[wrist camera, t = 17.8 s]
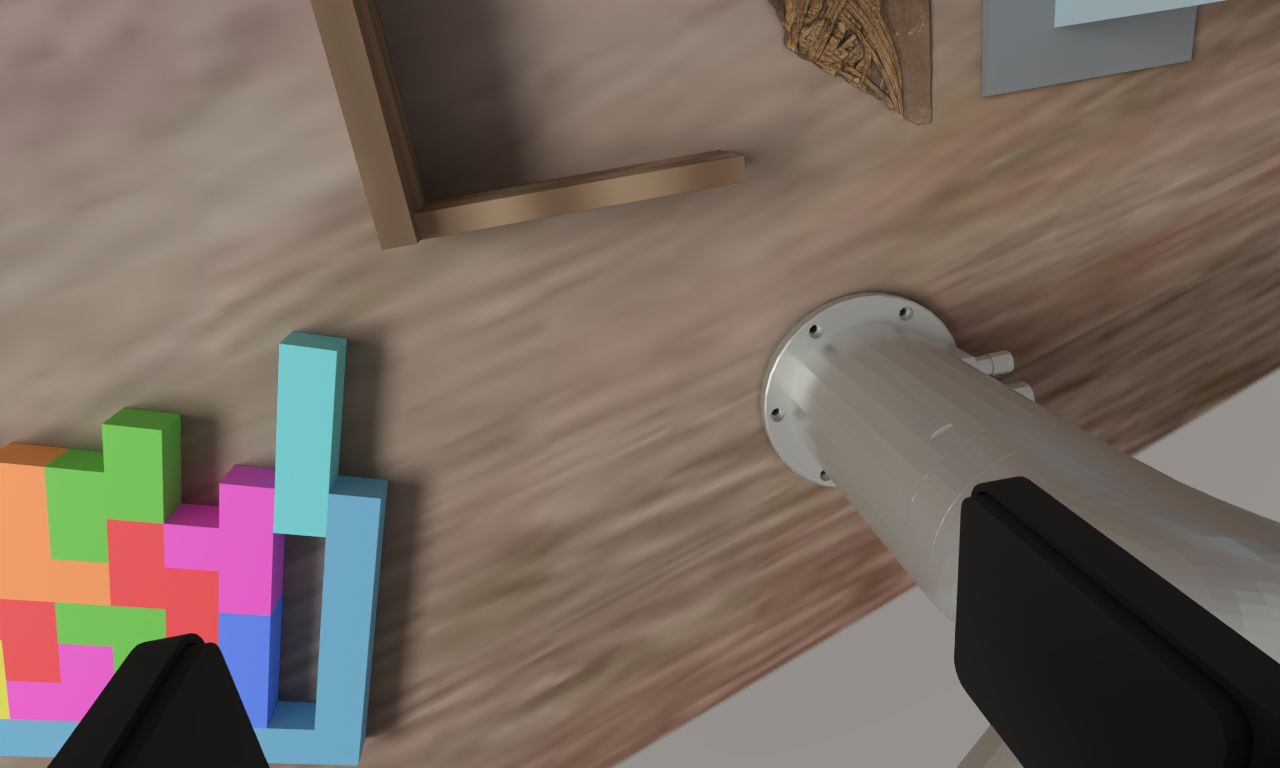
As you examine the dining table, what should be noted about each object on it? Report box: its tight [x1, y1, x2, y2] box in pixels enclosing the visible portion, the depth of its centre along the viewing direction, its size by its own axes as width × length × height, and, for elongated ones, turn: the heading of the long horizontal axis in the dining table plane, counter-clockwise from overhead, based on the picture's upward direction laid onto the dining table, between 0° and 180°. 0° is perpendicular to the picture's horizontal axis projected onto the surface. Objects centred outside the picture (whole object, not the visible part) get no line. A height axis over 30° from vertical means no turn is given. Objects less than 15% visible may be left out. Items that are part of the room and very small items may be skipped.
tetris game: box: [0, 331, 388, 765], centre depth 42 cm, size 28×3×28 cm
